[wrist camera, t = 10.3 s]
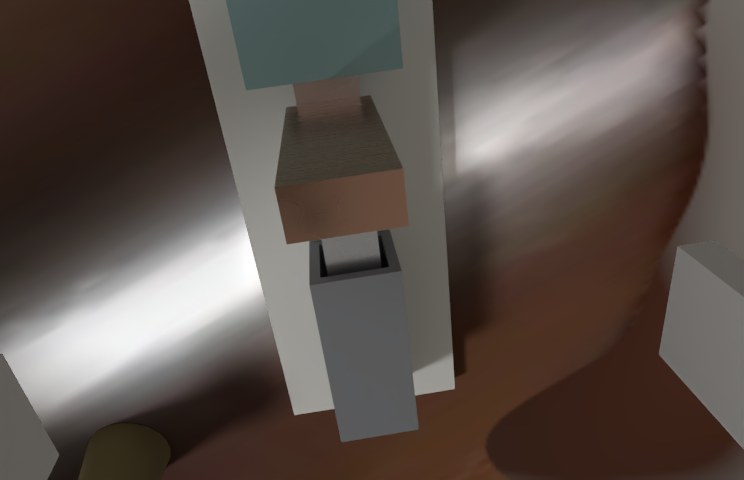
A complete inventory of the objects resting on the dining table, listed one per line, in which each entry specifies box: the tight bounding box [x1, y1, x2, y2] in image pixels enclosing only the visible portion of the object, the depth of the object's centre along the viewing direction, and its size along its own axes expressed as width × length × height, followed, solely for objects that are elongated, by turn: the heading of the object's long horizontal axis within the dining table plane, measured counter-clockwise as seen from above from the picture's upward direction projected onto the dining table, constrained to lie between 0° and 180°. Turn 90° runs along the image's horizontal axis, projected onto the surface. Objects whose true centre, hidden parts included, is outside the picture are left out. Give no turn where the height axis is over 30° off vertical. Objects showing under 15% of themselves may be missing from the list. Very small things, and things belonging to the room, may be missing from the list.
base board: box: [189, 0, 455, 415], centre depth 33 cm, size 31×12×1 cm, turn 7°
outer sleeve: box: [309, 230, 418, 442], centre depth 34 cm, size 12×5×5 cm, turn 7°
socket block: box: [226, 0, 403, 90], centre depth 25 cm, size 5×7×5 cm
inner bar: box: [274, 75, 409, 276], centre depth 24 cm, size 16×4×13 cm, turn 7°
